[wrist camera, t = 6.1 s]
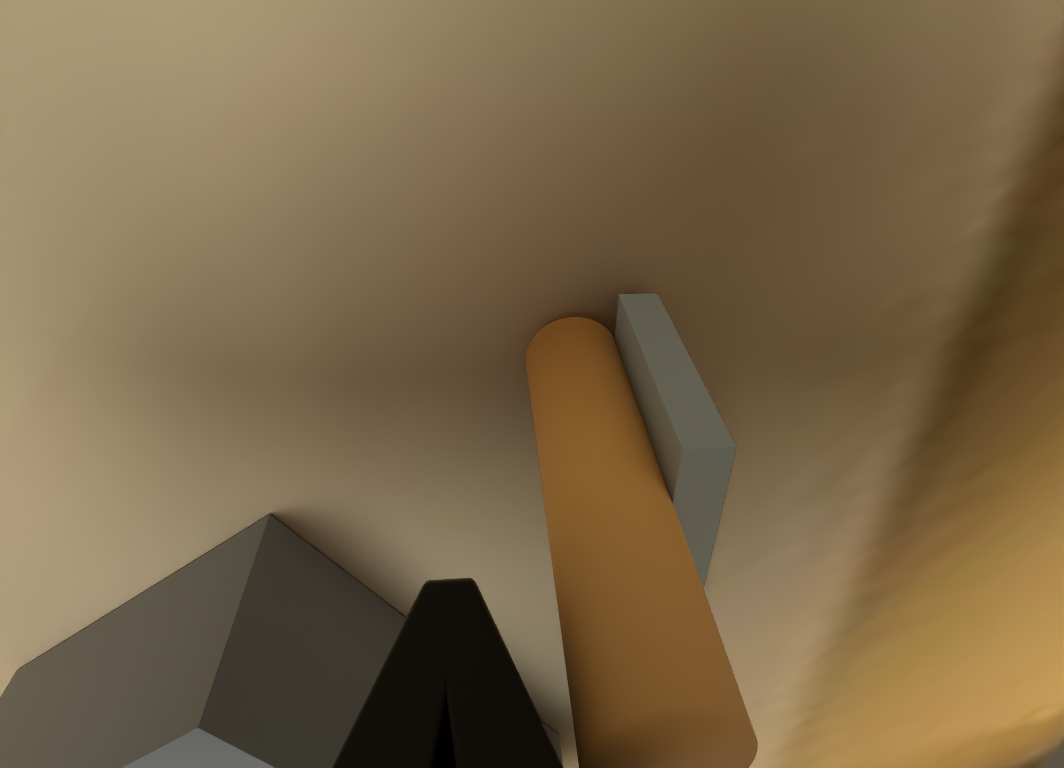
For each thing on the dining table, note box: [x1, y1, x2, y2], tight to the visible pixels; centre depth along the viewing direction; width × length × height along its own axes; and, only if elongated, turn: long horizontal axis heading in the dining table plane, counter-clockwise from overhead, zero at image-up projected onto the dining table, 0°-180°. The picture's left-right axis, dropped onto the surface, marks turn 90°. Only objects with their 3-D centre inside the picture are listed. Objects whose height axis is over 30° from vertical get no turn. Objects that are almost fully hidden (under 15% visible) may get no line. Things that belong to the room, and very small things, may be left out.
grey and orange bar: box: [526, 293, 757, 768], centre depth 15 cm, size 17×3×9 cm, turn 179°
